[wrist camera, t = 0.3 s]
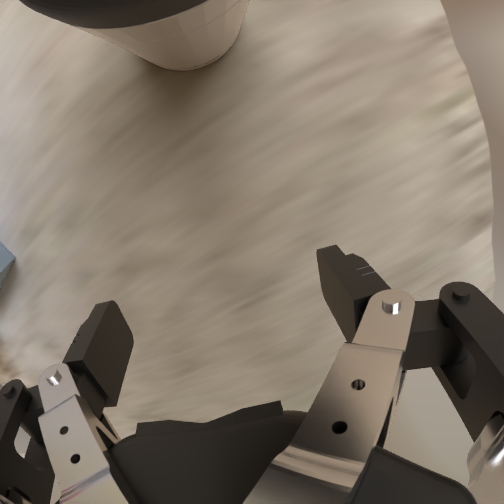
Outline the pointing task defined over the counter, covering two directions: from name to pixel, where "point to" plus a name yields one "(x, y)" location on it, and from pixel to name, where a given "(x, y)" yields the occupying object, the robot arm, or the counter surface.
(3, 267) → the slate plinth
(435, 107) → the counter surface
